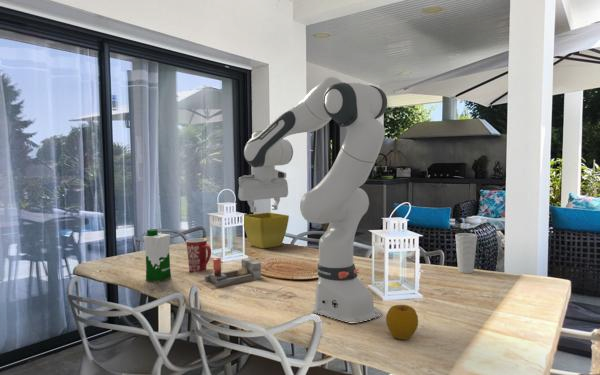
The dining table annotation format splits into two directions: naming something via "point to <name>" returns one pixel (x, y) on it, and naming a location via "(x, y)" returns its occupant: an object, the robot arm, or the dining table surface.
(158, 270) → the milk carton
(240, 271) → the nut
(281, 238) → the flower pot
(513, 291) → the dining table surface
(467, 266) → the cup
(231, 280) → the cracker bed
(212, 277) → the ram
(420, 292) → the dining table surface
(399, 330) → the apple
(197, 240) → the mug
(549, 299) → the dining table surface
